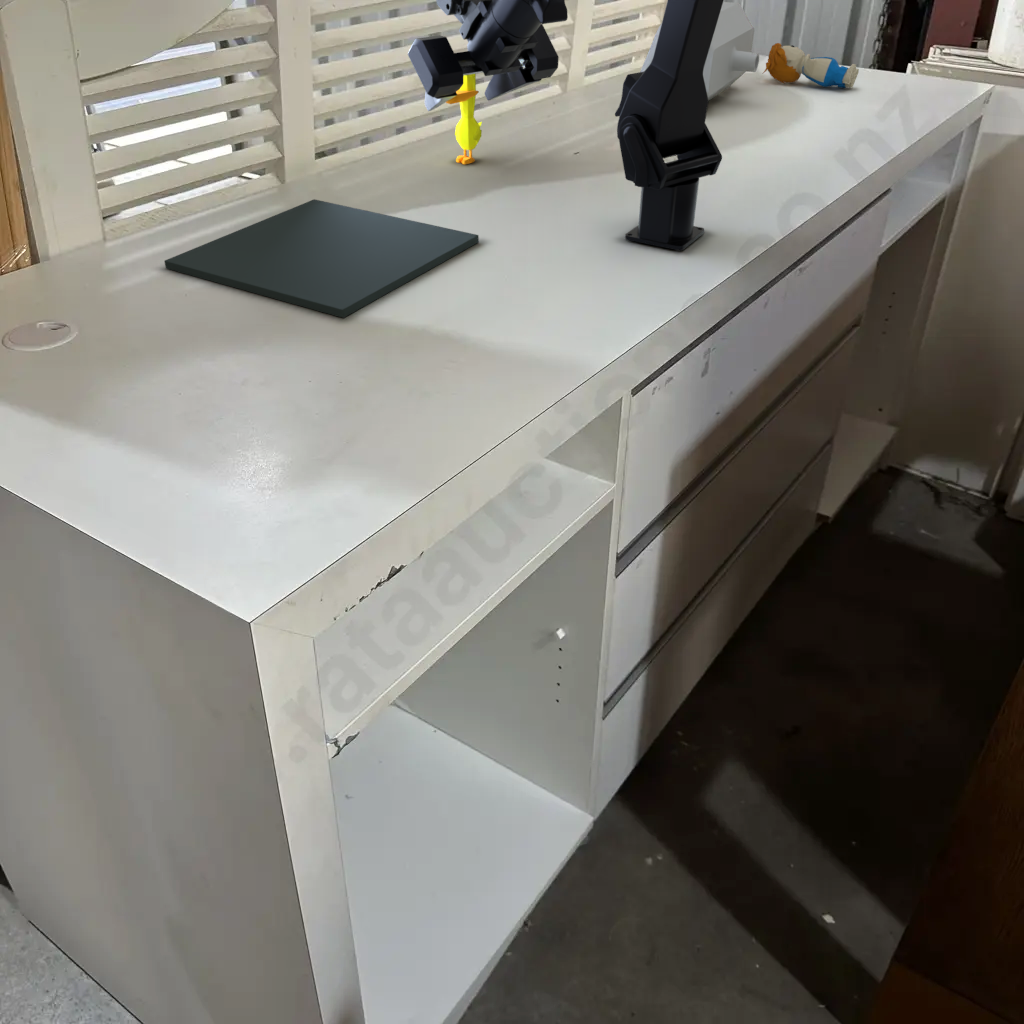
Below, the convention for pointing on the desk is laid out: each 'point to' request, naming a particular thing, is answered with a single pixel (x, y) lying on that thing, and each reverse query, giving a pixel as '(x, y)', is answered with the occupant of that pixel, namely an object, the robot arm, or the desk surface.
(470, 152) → the toy figure
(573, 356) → the desk surface
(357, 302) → the mat
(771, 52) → the toy
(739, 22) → the tank
